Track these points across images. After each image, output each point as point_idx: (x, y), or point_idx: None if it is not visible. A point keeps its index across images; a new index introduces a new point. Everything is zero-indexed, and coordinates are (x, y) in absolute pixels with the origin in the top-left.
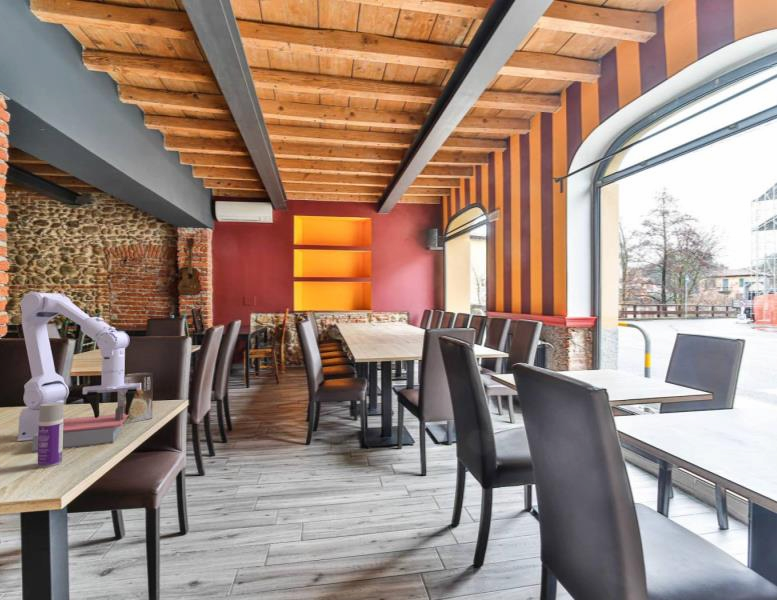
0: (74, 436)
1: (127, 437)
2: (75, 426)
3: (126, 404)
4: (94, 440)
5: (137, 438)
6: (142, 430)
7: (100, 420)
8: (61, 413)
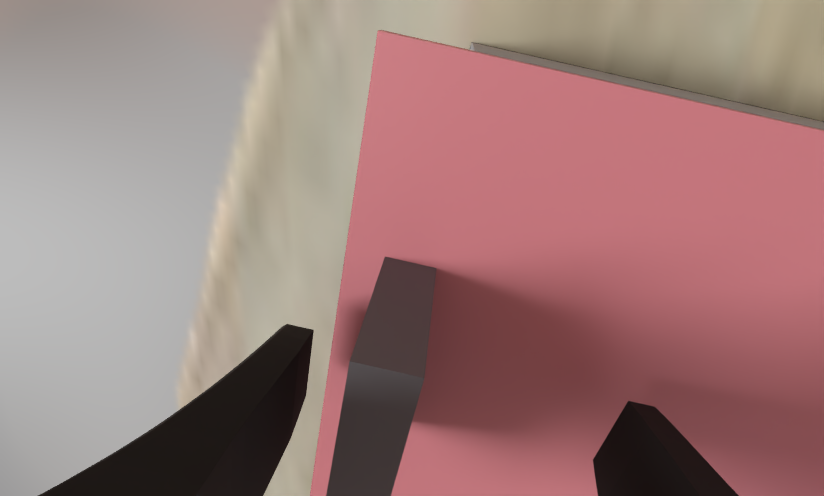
0: None
1: (351, 165)
2: None
3: (228, 433)
4: (639, 81)
5: (269, 70)
6: (252, 297)
7: (571, 397)
8: None
